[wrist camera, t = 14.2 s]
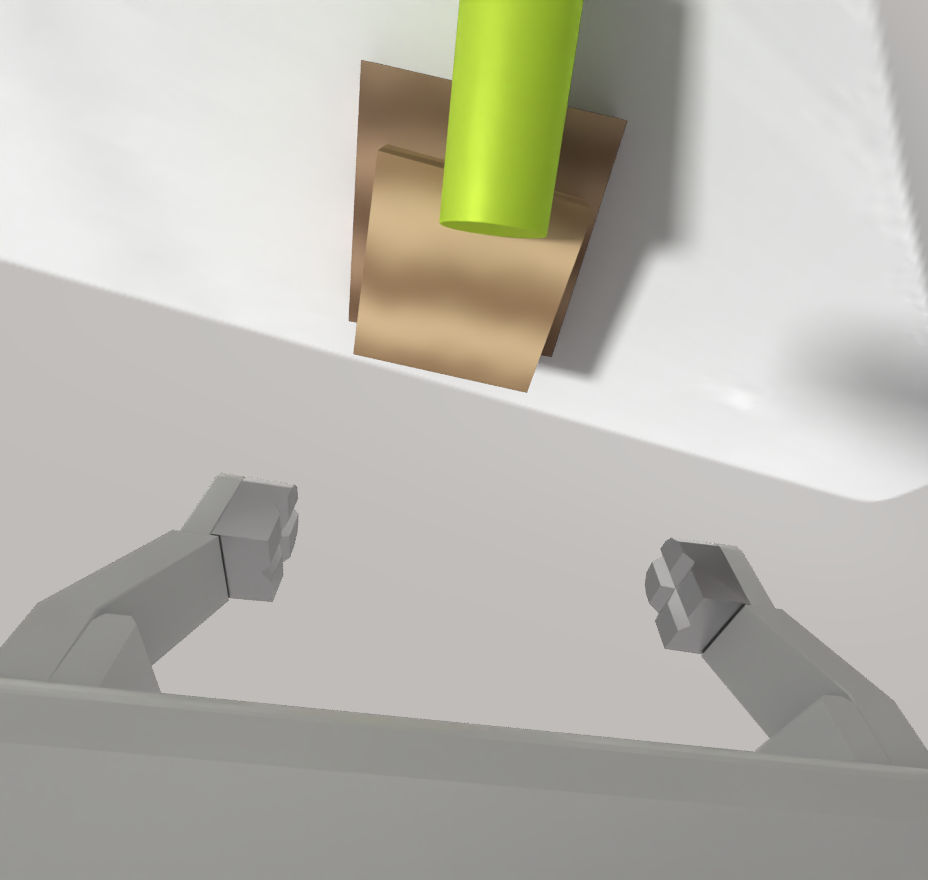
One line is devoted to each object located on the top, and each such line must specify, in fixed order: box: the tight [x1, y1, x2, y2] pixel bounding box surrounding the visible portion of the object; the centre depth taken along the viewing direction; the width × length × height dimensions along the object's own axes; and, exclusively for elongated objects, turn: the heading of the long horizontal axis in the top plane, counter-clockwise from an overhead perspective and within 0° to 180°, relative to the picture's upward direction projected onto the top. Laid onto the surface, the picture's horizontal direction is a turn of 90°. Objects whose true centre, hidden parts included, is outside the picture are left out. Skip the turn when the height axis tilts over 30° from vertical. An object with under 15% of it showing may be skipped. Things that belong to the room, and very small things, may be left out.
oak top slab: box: [353, 144, 594, 393], centre depth 34 cm, size 13×13×4 cm
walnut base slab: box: [349, 60, 627, 357], centre depth 35 cm, size 16×16×4 cm
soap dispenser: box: [439, 0, 584, 239], centre depth 24 cm, size 6×7×20 cm
